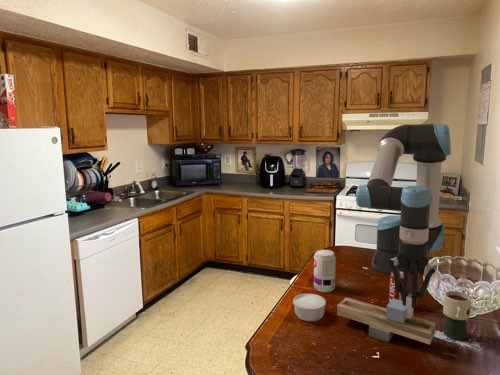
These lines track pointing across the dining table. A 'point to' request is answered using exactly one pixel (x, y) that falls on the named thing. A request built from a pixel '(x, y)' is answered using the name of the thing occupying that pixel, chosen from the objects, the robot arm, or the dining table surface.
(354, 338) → the dining table surface
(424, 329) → the beam
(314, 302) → the ramekin
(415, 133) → the robot arm
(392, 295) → the soda can
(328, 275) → the supplement can
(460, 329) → the character mug
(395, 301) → the block
